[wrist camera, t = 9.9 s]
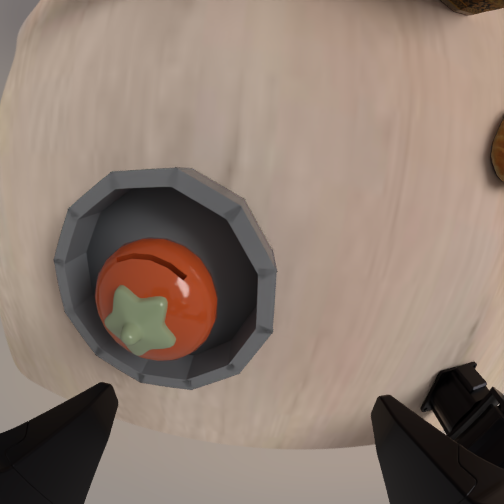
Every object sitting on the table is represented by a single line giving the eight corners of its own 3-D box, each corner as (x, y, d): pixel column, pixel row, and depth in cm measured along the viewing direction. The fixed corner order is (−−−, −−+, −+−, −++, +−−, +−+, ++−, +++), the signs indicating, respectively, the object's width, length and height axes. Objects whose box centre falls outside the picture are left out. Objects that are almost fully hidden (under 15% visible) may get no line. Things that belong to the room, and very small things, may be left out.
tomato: (235, 239, 18) (219, 289, 10) (214, 334, 20) (195, 414, 12) (130, 215, 17) (58, 244, 10) (123, 308, 19) (70, 370, 12)
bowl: (266, 361, 22) (267, 394, 18) (102, 344, 22) (82, 369, 18) (276, 169, 17) (282, 167, 14) (78, 176, 18) (46, 179, 14)
